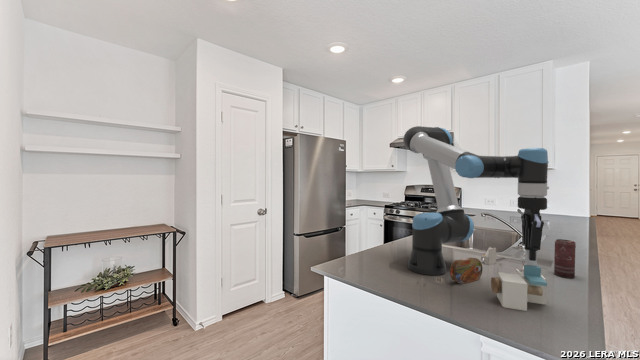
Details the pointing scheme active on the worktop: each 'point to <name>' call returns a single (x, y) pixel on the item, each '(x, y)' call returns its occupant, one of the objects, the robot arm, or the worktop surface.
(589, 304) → the worktop surface
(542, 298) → the block
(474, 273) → the tin
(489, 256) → the architectural model
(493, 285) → the pin
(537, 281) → the teal toy chair
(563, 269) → the can
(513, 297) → the cream block
